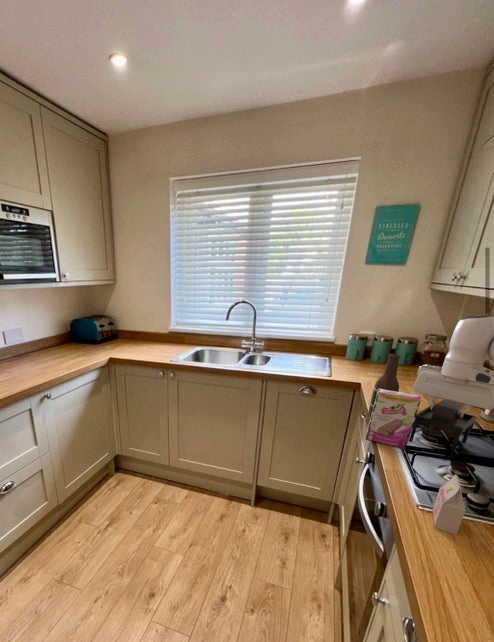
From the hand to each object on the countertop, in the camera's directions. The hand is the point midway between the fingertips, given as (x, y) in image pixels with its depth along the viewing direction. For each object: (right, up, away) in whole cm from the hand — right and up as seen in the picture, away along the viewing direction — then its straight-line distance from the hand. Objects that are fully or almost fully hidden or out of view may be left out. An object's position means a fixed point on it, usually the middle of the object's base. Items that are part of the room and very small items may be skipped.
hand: (446, 413), depth 102 cm
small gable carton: (-26, -22, -32) cm, 46 cm away
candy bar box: (-17, -9, +2) cm, 20 cm away
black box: (0, -2, +1) cm, 2 cm away
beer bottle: (-8, -2, +22) cm, 23 cm away
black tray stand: (0, -9, +3) cm, 10 cm away
